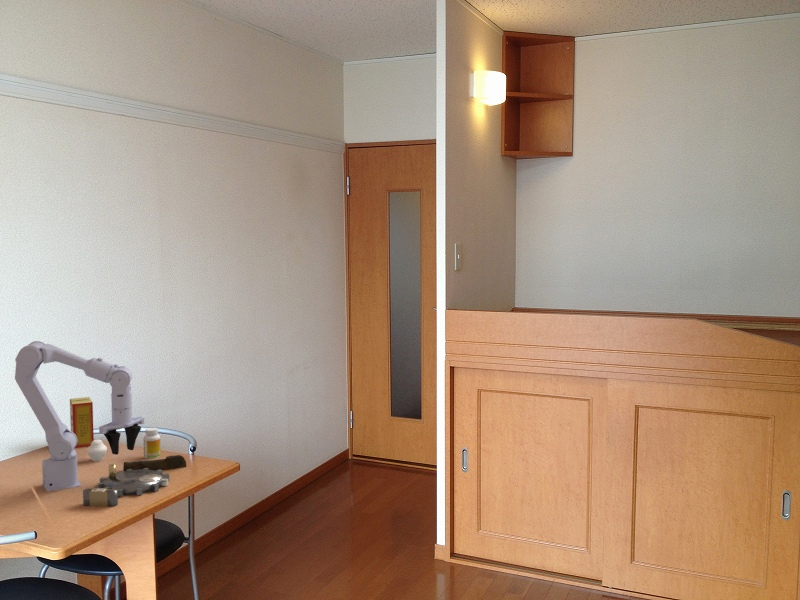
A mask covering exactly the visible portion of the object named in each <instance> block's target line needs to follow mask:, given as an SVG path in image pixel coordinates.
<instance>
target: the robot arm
mask: <svg viewBox="0 0 800 600" xmlns="http://www.w3.org/2000/svg"><path fill="white" fill-rule="evenodd" d="M103 359H104V358H102V357H98V358H96V357H92V358H91V359H87V358H84V357H82V356H79V355H77V354H74V353H72V352H70V351H68V350H65V349H64V348H63V349H62V348H61V347H58V346H55V345H54V344H51V343H45V342H42V341H40V340H35V341H32V342H30V343H29V344H28V345H25V346H23V347H22V348H21V349H20V350H19V352H18V353H17V355H16V357H15V359H14V361H15V371H14V372H15V373H14V380H15V382H16V384H17V386H18V387H19V389H20V391H21V392H22V394H23V396H24V397H25V399H26V402H27V403H28V405H29V407H30V408H31V410H32V411H33V413H34V416H35V417H36V419H37V420H38V422H39V424H40V425H41V427H42V429H43V431H44V433H45V441H46V443H47V445H48V452H49V455H50V457H49V458H47V459H46V458H45V459H43V460H42V463H41V464H42V465H41V469H42V473H41V475H42V486H43V487H44V489H45V491H46V492H53V491H58V490H65V489H70V488H76V487H81V486H82V484H81V482H80V481H79V480H78V479H79V477H78V473H79V471H78V453H77V451H76V450H75V449H76V448H75V447H76V445H77V442H78V440H77V436H76V435H75V434H74V433H73V432H71V429H69V428H68V425H66V424H65V423H63V421H62V420H61V418H60V416H59V415H58V413H57V411H56V410H55V408H54V406H53V405H52V403H51V401H50V398H49V397H48V396H47V394H46V392H45V391H44V389H43V387H42V384H40V381H39V380H38V378H37V374H38V372H39V369H40V366H41V365H42V364H44V365H45V364H49V363H60V364H64V365H66V366H69V367H72V368H76V369H79V370H83V372H84V374H85V376H87V377H88V378H92V379H94V380H97V381H101V382H102V383H105V384H109V385H110V386H111V394H110V396H111V398H110V399H111V422H109V423H106V424H104V425H100V426H99V427H98V433H99V434H102V435H104V436H105V438H106V440H107V442H108V445H109V447H110V450H111V454H112V455H119V453H120V452H119V451H120V449H119V448H120V447H119V446H120V444H119V443H120V439H121V433H120V432H118V430H122V429H124V432H125V437H126V448H127V450H130V451H134V449H135V445H136V441H137V438H138V435H139V434H140V432H141V430H142V426H140V425H143V424H144V425H145V417H142V416H138V417H133V405H132V404H133V401H132V400H133V398H132V394H133V393H132V386H131V381H132V378H133V374H132V373H133V372H131V370H130V369H129V368H127V367H126V366H123V365H120V366H119V364H117V363H115V364H112V363H110V362H107V361H104V360H103Z"/></svg>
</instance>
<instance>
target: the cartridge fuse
mask: <svg viewBox="0 0 800 600" xmlns="http://www.w3.org/2000/svg"><path fill="white" fill-rule="evenodd" d="M82 505H83V506H84V507H108V508H110V507H111V508H112V507H116V506H118V505H119V497H118V490H117V489H103V488H97V487H96V488H92V487H89V488H85V489H82Z"/></svg>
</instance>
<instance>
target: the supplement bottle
mask: <svg viewBox="0 0 800 600" xmlns="http://www.w3.org/2000/svg"><path fill="white" fill-rule="evenodd" d="M142 439H143V440H142V441H143V458H144V459H154V458H155V459H156V458H159V457H161V456H162V455H161V436H160V434H159V428H157V427H149V428H145V435H144V436H143V438H142Z"/></svg>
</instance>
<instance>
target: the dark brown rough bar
mask: <svg viewBox="0 0 800 600" xmlns="http://www.w3.org/2000/svg"><path fill="white" fill-rule="evenodd" d="M186 467H187V461H186V459H185V457H184V456H182V455H180V454H178V455H177V454H176V455H168V456H166V457H165V458H162V459H160V458H159V459H151V460H138V461H137V460H136V461H124V462H123V468H122V469H123V471H127V469H132V470H138V469H144V468H149V470H155V471H156V470H159V469H160V470H163V471H164V470H175V469H181V468H186ZM123 471H122V472H123Z"/></svg>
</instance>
